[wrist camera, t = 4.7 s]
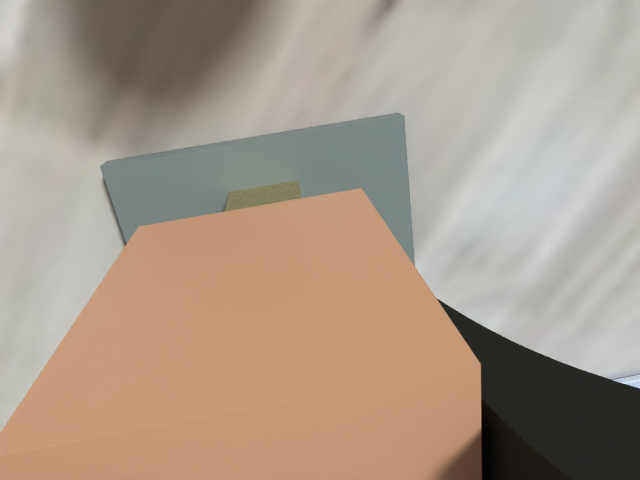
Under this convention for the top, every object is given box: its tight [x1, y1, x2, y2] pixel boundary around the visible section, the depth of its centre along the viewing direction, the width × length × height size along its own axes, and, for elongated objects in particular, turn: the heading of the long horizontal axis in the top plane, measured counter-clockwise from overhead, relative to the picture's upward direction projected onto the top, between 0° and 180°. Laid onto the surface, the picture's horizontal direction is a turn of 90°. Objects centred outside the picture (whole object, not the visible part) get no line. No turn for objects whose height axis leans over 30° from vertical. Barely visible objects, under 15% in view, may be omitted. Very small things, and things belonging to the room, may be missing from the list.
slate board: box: [100, 113, 415, 266], centre depth 20 cm, size 12×11×1 cm
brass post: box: [224, 180, 302, 212], centre depth 16 cm, size 3×3×5 cm
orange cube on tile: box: [0, 188, 482, 480], centre depth 9 cm, size 5×5×7 cm
